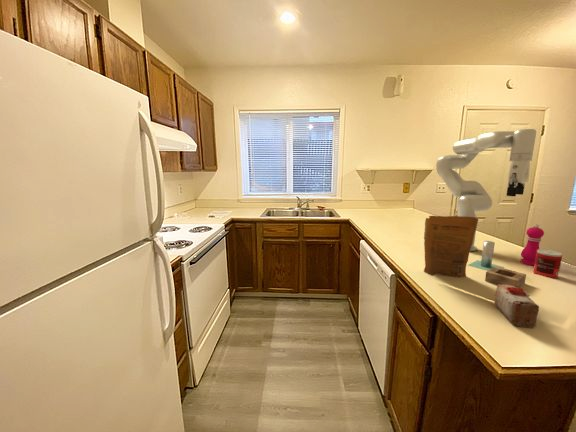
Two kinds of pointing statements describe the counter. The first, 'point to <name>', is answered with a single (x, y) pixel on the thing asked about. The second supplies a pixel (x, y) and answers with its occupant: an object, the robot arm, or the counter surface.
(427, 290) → the counter surface
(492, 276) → the socket block
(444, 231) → the pancake mix bag
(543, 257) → the canned food
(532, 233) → the pepper mill
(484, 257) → the steel pin
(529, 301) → the food item
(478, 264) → the mat
